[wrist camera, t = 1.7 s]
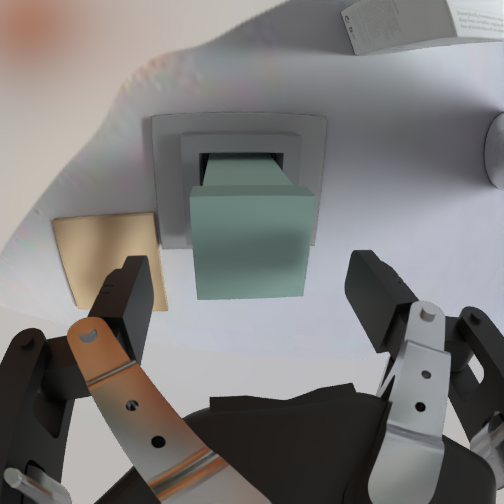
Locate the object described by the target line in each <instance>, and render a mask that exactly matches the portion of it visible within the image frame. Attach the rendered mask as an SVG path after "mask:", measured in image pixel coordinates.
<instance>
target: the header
mask: <svg viewBox="0 0 504 504" xmlns="http://www.w3.org/2000/svg"><path fill="white" fill-rule="evenodd" d="M151 119H152V142H153V159H154V174H155V186H156V197H157V207H158V217H159V226H160V234H161V242H162V249H193V243H192V229H191V214H190V194H191V191H192V187H193V186H203V174H202V153H216V152H271V153H276V163H277V165H278V166H279V167H280V169H281V170H282V171H283V172H284V174H285V175H286V176H287V178H288V179H289V180H290V182H291V183H292V184H293V185H298V186H307V187H308V188H309V189H310V190H311V191H312V193H313V194H314V195H315V196H316V197H315V207H314V216H313V224H312V233H311V241H310V246H314V245H315V237H316V229H317V221H318V213H319V204H320V195H321V186H322V176H323V166H324V155H325V143H326V130H327V117H323V116H313V115H300V114H284V113H259V112H211V113H186V114H170V115H158V116H152V117H151Z"/></svg>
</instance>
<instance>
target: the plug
mask: <svg viewBox="0 0 504 504" xmlns="http://www.w3.org/2000/svg"><path fill="white" fill-rule="evenodd" d="M315 197H316V196H315V195H314V194H313V193H312V191H311V190H310V189H309V188H308V187H307V186H298V185H293V184H292V183H291V182H290V180H289V179H288V178H287V176H286V175H285V174H284V172H283V171H282V170H281V169H280V167H279V166H278V165H277V163H276V162H275V161H274V159H273V158H272V157H271V156H270V154H269V153H210V155H209V159H208V163H207V168H206V172H205V177H204V181H203V186H193V187H192V191H191V194H190V214H191V229H192V243H193V256H194V268H195V279H196V289H197V299H198V300H217V299H250V298H275V297H295V296H303V292H304V285H305V278H306V271H307V264H308V256H309V249H310V241H311V233H312V224H313V216H314V207H315Z"/></svg>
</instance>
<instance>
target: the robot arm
mask: <svg viewBox="0 0 504 504" xmlns="http://www.w3.org/2000/svg"><path fill="white" fill-rule="evenodd" d="M484 153H485V166H486V171H487V174H488V177H489V179H490V181H491V182H492V183H493V184H494V185H495V186H496V187H498V188H500V189H501V190H503V191H504V113H502V114H500V115H499V116H497V117H496V118H495V120H494V121H493V122H492V124H491V126H490V128H489V131H488V134H487V138H486V143H485V152H484ZM345 294H346V297H347V299H348V301H349V303H350V304H351V306H352V308H353V310H354V312H355V313H356V315H357V317H358V319H359V321H360V323H361V324H362V326H363V328H364V330H365V332H366V334H367V336H368V338H369V339H370V341H371V343H372V345H373V347H374V349H375V351H376V353H382V352H388V351H389V353H390V355H389V357H388V360H387V363H386V366H385V369H384V372H383V375H382V379H381V382H380V385H379V388H378V391H377V394H376V396H374V395H371V394H366V393H360V392H356V390H355V388H354V385H353V383H348V384H343V385H336V386H330V387H324V388H319V389H316V390H314V391H311V392H309V393H306V394H303V395H300V396H297V397H295V398H292V399H289V400H277V399H268V398H260V397H253V396H229V397H210V407H209V408H205V409H202V410H199V411H196V412H194V413H191V414H189V415H187V416H186V417H184V418H181V417H180V416H179V415H178V414H177V412H176V411H175V410H174V409H173V408H172V406H171V405H170V404H169V403H168V402H167V400H166V399H165V398H164V397H163V396H162V394H161V393H160V392H159V391H158V389H157V388H156V386H155V385H154V384H153V383H152V381H151V380H150V379H149V377H148V376H147V375H146V373H145V372H144V371H143V369H142V368H141V367H140V365H141V360H142V355H143V349H144V345H145V340H146V336H147V331H148V327H149V322H150V318H151V313H152V309H153V305H154V289H153V283H152V278H151V272H150V266H149V260H148V257H147V255H133V256H127V258H126V260H125V262H124V264H123V266H122V268H121V269H114V270H113V271H112V272H111V273H110V274H109V275H108V276H106V278H105V280H104V283H103V285H102V287H101V289H100V291H99V294H98V295H97V297H96V299H95V301H94V303H93V306H92V308H91V310H90V312H89V314H88V317H87V318H83V319H81V320H79V321H77V322H75V323H74V324H73V325H72V326H71V327H70V329H69V330H68V333H67V336H62V337H57V338H52V339H46V338H45V336H44V334H43V332H42V331H41V330H39V329H36V328H29V329H25V330H23V331H21V332H19V333H18V334H17V335H16V336H15V337H14V338H13V339H12V341H11V343H10V345H9V347H8V349H7V351H6V353H5V356H4V357H3V360H2V362H1V364H0V504H72V500H71V497H70V494H69V493H68V491H67V490H66V489H65V487H64V486H63V485H61V477H62V469H63V462H64V455H65V448H66V442H67V436H68V431H69V426H70V420H71V416H72V411H73V406H74V402H75V399H77V398H83V397H89V396H92V397H93V399H94V401H95V403H96V404H97V407H98V408H99V410H100V412H101V414H102V416H103V417H104V419H105V421H106V423H107V424H108V426H109V428H110V429H111V431H112V433H113V434H114V436H115V438H116V439H117V441H118V442H119V444H120V446H121V447H122V449H123V450H124V452H125V453H126V455H127V456H128V458H129V459H130V461H131V462H132V464H133V465H134V466H133V467H132V468H131V469H130V470H129V471H128V472H127V473H126V474H125V475H124V476H123V477H122V478H121V479H119V481H118V482H116V483H115V484H114V485H113V486H112V487H111V488H110V489H109V490H108V491H107V492H106V493H105V494H104V495H103V496H102V497H101V498H99V500H97V501H96V502H95V503H94V504H496V490H500V489H502V488H504V337H503V335H502V334H501V333H500V331H499V330H498V329H497V327H496V326H495V325H494V323H493V322H492V321H491V320H490V318H489V317H488V316H487V315H486V314H485V313H484V312H483V311H481V310H480V309H478V308H475V307H470V306H469V307H465V308H463V309H462V311H461V313H460V315H459V317H449V316H445V315H444V313H443V311H442V310H441V309H440V308H439V307H438V306H436V305H435V304H433V303H430V302H427V301H419V300H418V298H417V297H416V296H415V295H414V293H413V292H412V291H411V290H410V288H409V287H408V286H407V285H406V284H405V283H404V282H403V280H402V279H401V277H399V276H398V274H397V273H396V271H395V270H394V269H393V268H392V267H391V266H389V265H388V264H386V263H384V262H383V261H381V260H380V259H379V258H378V257H377V256H376V254H375V253H374V252H373V251H372V250H354V251H353V252H352V254H351V258H350V262H349V267H348V271H347V276H346V280H345ZM474 354H475V356H476V357H477V359H478V361H479V362H480V364H481V365H482V367H483V369H484V378H483V380H482V382H481V383H480V384H479V382H478V380H477V379H476V377H475V375H474V374H473V372H472V370H471V369H470V367H469V365H468V363H469V361H470V359H471V358H472V356H473V355H474ZM448 397H449V399H450V401H451V403H452V406H453V407H454V410H455V412H456V414H457V416H458V418H459V420H460V422H461V424H462V427H463V429H464V431H465V433H466V436H467V438H468V440H469V442H470V450H469V449H467V448H466V447H464V446H462V445H460V444H458V443H457V442H455V441H453V440H451V439H450V438H448V437H446V436H445V435H443V434H442V432H443V427H444V420H445V413H446V407H447V398H448Z"/></svg>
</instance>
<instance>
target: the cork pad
mask: <svg viewBox="0 0 504 504" xmlns="http://www.w3.org/2000/svg"><path fill="white" fill-rule="evenodd" d="M52 224H53V228H54V232H55V236H56V240H57V244H58V248H59V251H60V255H61V258H62V261H63V265H64V268H65V271H66V274H67V278H68V281H69V284H70V287H71V290H72V292H73V295H74V298H75V301H76V304H77V306H78V309H87V310H91V308H92V306H93V303H94V301H95V299H96V297H97V295H98V294H99V291H100V289H101V287H102V285H103V283H104V280H105V278H106V276H108V275H109V274H110V273H111V272H112V271H113V270H114V269H121V268H122V266H123V264H124V262H125V260H126V258H127V256H133V255H147V257H148V260H149V266H150V272H151V278H152V283H153V289H154V305H153V309H152V311H168V303H167V298H166V292H165V286H164V280H163V274H162V267H161V260H160V253H159V246H158V238H157V231H156V222H155V213H134V214H116V215H100V216H85V217H72V218H59V219H54V220H53V221H52Z"/></svg>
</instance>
